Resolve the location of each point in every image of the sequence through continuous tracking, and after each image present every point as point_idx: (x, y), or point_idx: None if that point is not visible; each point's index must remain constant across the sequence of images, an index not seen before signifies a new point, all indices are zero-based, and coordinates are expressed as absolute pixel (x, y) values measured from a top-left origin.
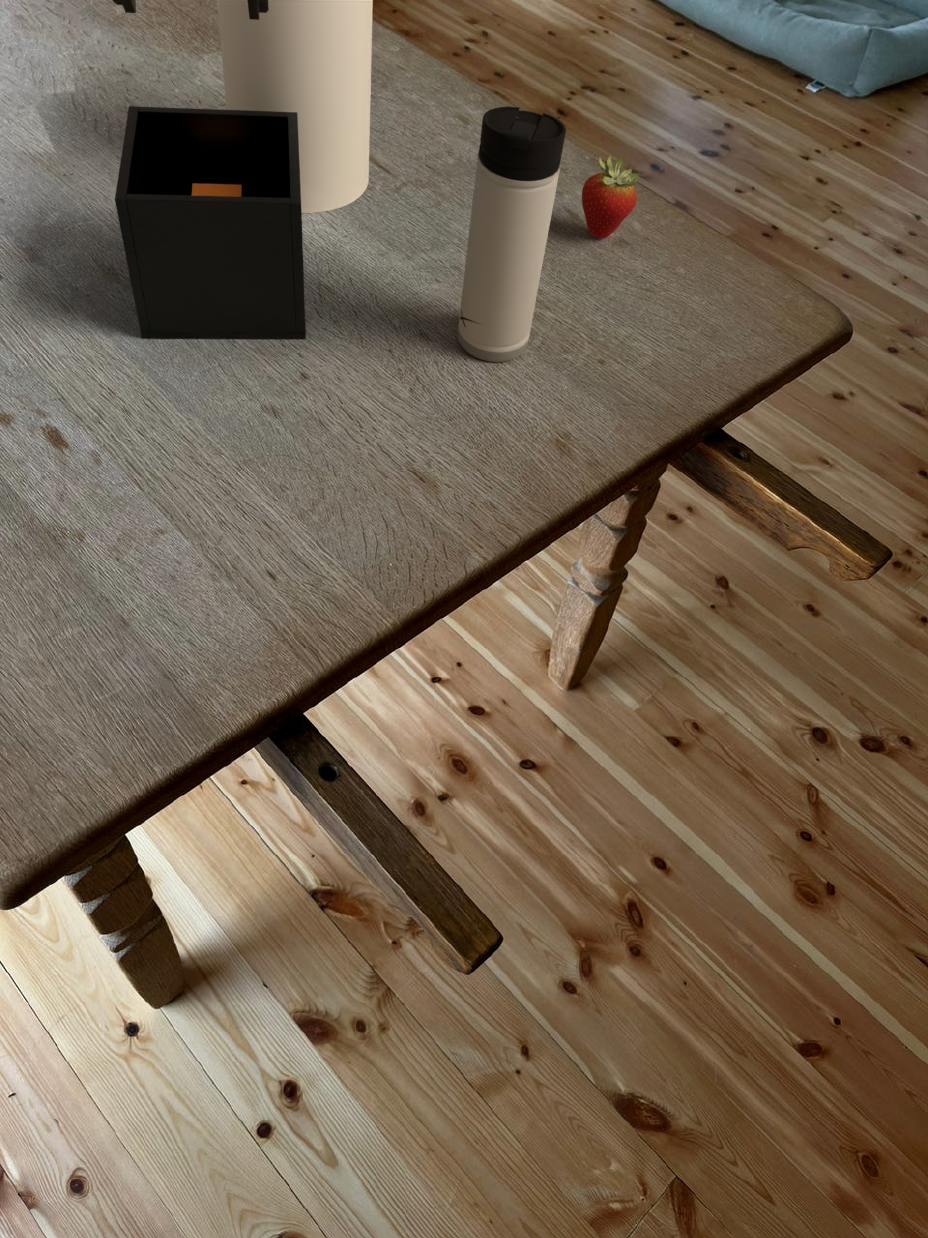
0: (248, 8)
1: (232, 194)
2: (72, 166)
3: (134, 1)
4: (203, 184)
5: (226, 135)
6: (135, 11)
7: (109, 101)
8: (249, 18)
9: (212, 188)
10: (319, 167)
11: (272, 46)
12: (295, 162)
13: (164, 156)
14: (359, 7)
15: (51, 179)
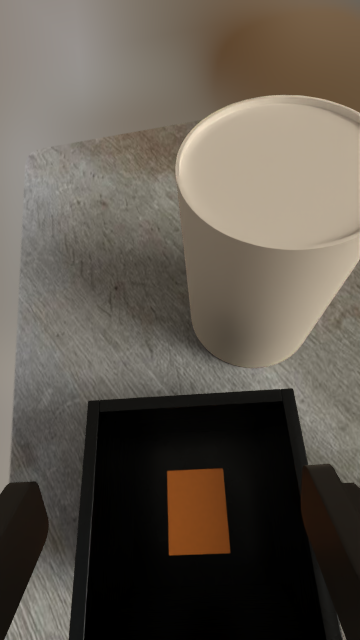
0: (329, 593)
1: (214, 493)
2: (63, 322)
3: (38, 529)
4: (179, 472)
5: (203, 411)
6: (45, 536)
7: (91, 237)
8: (306, 531)
9: (190, 480)
10: (281, 349)
11: (256, 295)
12: None
13: (134, 420)
14: None
15: (47, 342)
